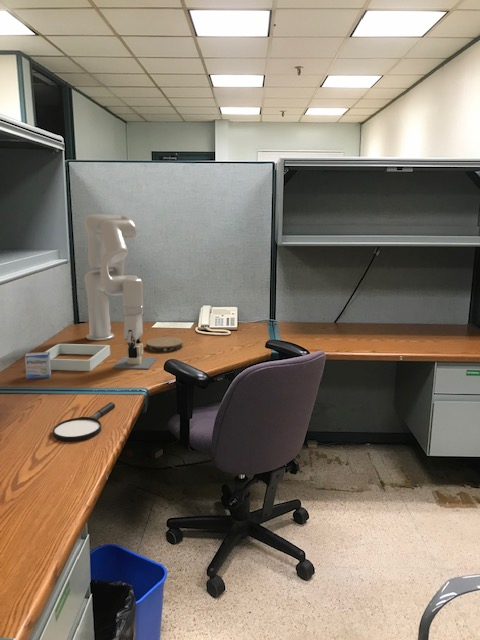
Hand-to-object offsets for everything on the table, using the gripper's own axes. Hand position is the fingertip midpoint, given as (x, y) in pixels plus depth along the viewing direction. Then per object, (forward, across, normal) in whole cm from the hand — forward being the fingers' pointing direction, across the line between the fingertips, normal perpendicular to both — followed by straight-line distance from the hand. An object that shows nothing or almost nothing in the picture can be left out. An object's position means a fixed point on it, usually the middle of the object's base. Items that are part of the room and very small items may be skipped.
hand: (135, 354), depth 192 cm
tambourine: (+4, -24, +6) cm, 25 cm away
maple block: (+3, 0, 0) cm, 3 cm away
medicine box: (+4, +19, -30) cm, 36 cm away
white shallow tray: (+3, 0, -25) cm, 25 cm away
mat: (+3, 0, 0) cm, 3 cm away
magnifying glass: (+4, +56, +3) cm, 56 cm away
